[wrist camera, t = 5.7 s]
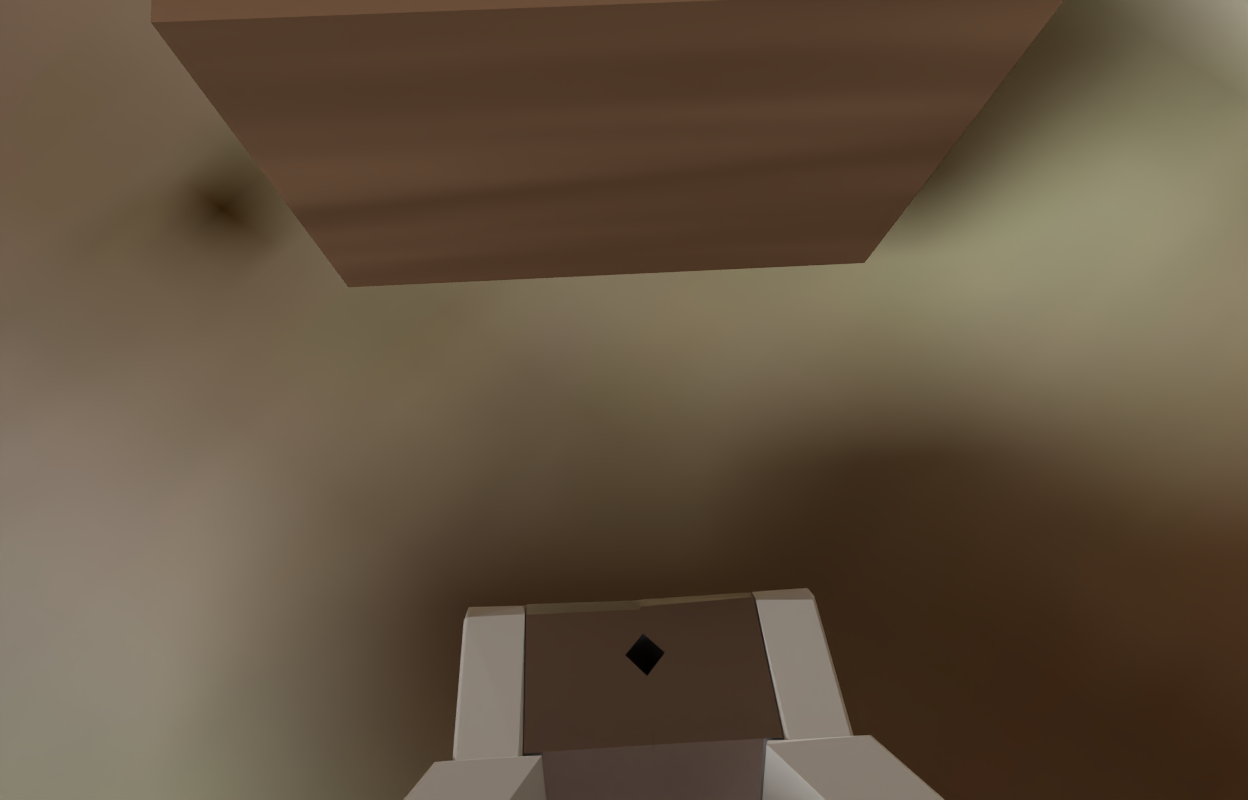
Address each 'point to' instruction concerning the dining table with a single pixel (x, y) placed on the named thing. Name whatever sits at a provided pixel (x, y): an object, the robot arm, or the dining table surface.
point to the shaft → (596, 124)
